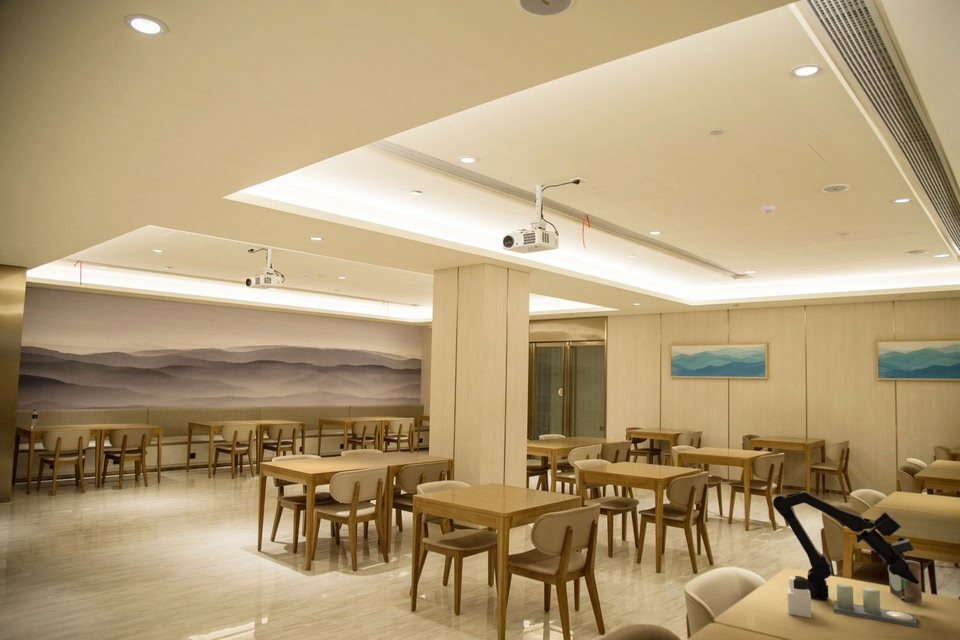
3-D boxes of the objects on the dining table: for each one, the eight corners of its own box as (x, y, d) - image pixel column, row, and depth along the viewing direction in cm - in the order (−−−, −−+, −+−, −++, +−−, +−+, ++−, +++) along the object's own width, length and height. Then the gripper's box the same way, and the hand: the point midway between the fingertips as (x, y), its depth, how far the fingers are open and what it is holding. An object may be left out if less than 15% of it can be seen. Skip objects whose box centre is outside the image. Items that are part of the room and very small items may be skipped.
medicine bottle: (810, 611, 221) (809, 576, 222) (811, 618, 215) (810, 581, 216) (787, 608, 224) (786, 573, 225) (788, 614, 218) (787, 578, 219)
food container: (921, 603, 233) (920, 575, 234) (902, 601, 234) (901, 573, 235) (906, 592, 245) (904, 566, 246) (888, 591, 246) (887, 564, 247)
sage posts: (837, 607, 223) (836, 586, 224) (837, 603, 227) (836, 582, 228) (880, 614, 216) (879, 593, 217) (880, 610, 220) (879, 589, 221)
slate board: (833, 612, 221) (833, 607, 221) (834, 604, 230) (834, 600, 230) (916, 626, 209) (916, 622, 209) (915, 617, 217) (914, 613, 217)
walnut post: (905, 600, 222) (903, 562, 223) (904, 596, 226) (902, 559, 227) (922, 603, 219) (920, 564, 220) (921, 599, 223) (919, 561, 225)
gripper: (899, 535, 219) (939, 574, 212) (895, 525, 235) (932, 561, 228) (873, 555, 222) (912, 594, 215) (871, 544, 238) (907, 580, 231)
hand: (917, 581), depth 223 cm, fingers closed on walnut post, 5 cm apart
